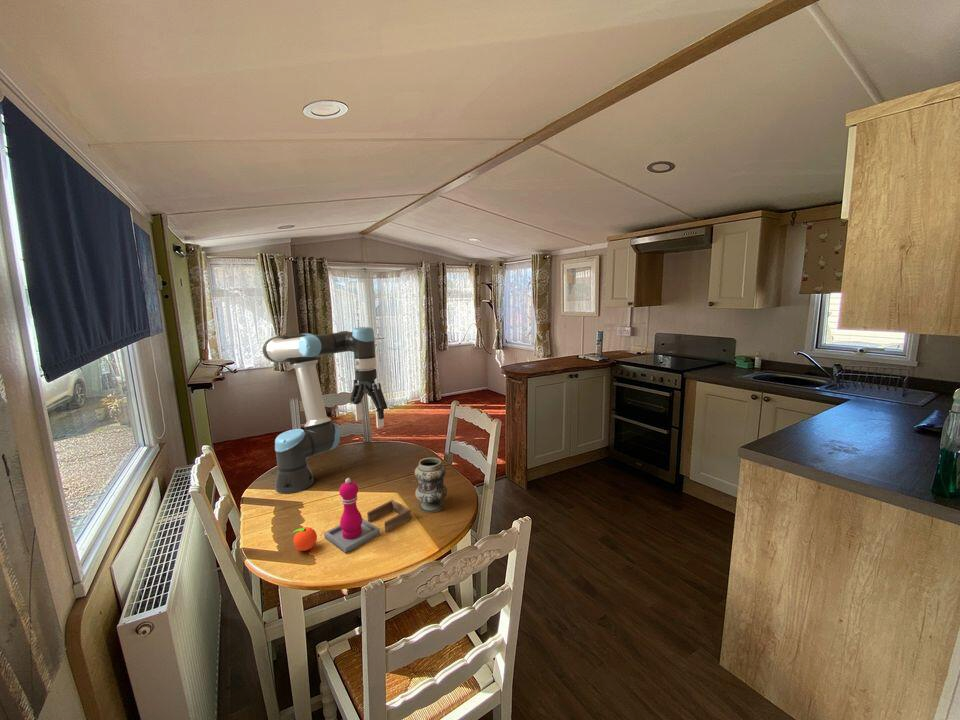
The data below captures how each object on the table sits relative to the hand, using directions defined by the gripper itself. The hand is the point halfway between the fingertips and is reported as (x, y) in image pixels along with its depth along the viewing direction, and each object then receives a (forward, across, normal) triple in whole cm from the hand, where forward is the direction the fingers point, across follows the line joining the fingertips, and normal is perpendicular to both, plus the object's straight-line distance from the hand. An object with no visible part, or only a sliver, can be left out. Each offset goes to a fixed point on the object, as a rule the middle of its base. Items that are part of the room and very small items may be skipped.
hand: (369, 423), depth 152 cm
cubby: (+32, +16, -5) cm, 36 cm away
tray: (+32, +14, -19) cm, 40 cm away
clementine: (+32, +8, -32) cm, 46 cm away
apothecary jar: (+32, +21, +11) cm, 40 cm away
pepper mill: (+31, +14, -19) cm, 39 cm away
